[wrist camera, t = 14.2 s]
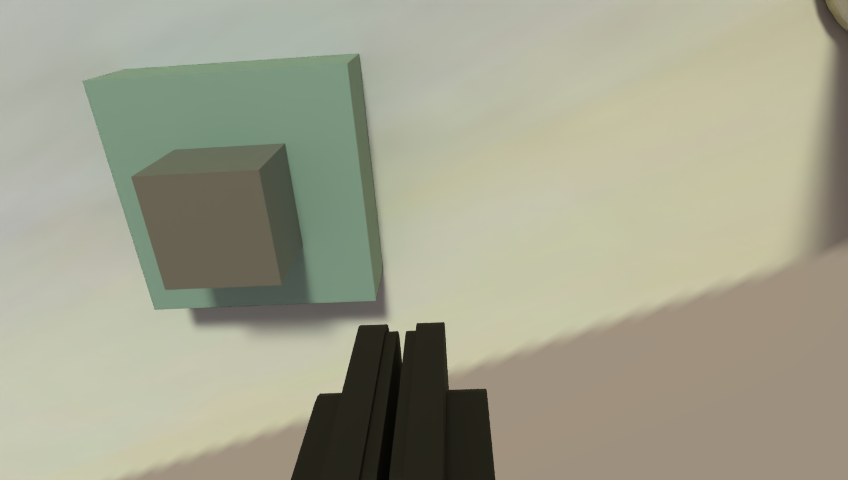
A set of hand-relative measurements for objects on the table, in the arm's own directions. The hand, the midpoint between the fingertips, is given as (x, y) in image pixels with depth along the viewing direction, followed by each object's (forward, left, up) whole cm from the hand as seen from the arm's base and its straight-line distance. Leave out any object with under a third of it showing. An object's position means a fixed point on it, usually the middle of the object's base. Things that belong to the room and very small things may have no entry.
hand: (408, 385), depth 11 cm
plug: (+12, +4, -27) cm, 29 cm away
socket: (+12, +4, -27) cm, 30 cm away
